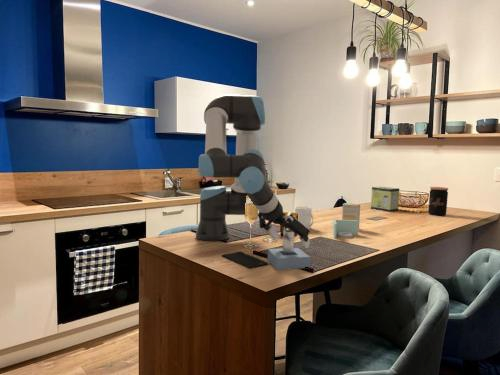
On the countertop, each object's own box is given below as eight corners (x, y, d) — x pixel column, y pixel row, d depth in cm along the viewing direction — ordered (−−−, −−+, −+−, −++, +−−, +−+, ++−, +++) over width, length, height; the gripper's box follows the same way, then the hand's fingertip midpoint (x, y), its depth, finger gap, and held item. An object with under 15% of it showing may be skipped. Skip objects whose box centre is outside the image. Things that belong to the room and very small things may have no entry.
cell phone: (239, 253, 152) (239, 251, 152) (269, 265, 138) (269, 263, 138) (221, 257, 147) (221, 254, 147) (249, 270, 133) (249, 267, 133)
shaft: (284, 265, 137) (285, 230, 136) (280, 262, 141) (281, 228, 140) (294, 265, 138) (296, 230, 137) (291, 261, 142) (292, 227, 141)
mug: (306, 231, 193) (306, 210, 192) (291, 227, 203) (291, 207, 202) (318, 230, 197) (319, 209, 196) (303, 225, 207) (304, 206, 206)
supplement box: (359, 228, 203) (360, 204, 202) (356, 230, 199) (357, 205, 198) (344, 226, 208) (345, 202, 207) (341, 227, 204) (342, 203, 203)
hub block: (276, 269, 132) (277, 258, 132) (267, 259, 144) (267, 249, 144) (309, 267, 135) (309, 256, 135) (297, 258, 147) (298, 247, 146)
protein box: (378, 207, 277) (380, 186, 276) (398, 210, 265) (400, 188, 264) (370, 208, 271) (371, 186, 269) (390, 212, 259) (391, 189, 257)
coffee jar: (425, 214, 253) (427, 187, 251) (432, 212, 260) (434, 186, 258) (442, 216, 245) (444, 189, 243) (448, 215, 252) (450, 188, 250)
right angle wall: (334, 239, 180) (334, 224, 179) (332, 234, 192) (333, 219, 191) (360, 241, 178) (361, 225, 177) (357, 235, 190) (358, 220, 189)
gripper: (235, 209, 134) (260, 243, 147) (295, 219, 118) (317, 257, 131) (245, 193, 137) (269, 228, 150) (305, 200, 121) (326, 239, 134)
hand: (292, 241), depth 140 cm, fingers open, 13 cm apart
